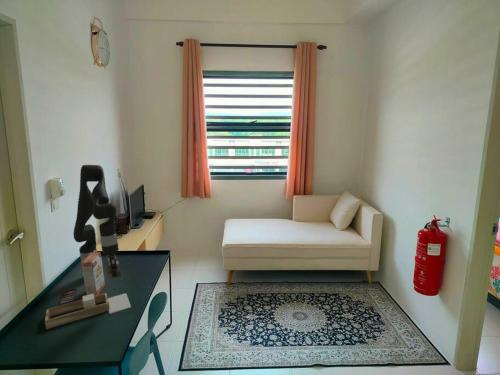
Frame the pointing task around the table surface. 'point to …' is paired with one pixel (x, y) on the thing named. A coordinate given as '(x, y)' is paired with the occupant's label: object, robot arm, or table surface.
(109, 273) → the walnut block
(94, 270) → the cracker box
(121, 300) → the pad
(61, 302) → the smartphone
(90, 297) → the cream block
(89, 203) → the robot arm
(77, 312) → the bin
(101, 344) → the table surface
